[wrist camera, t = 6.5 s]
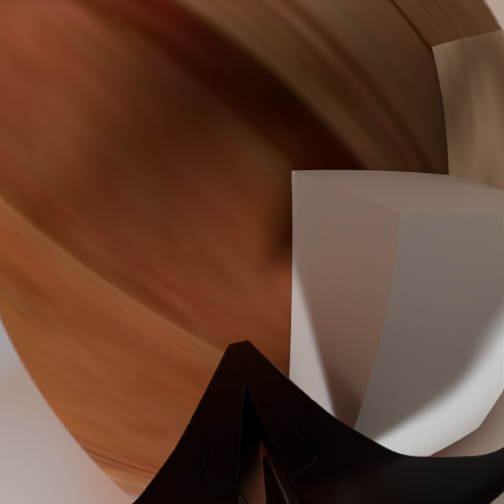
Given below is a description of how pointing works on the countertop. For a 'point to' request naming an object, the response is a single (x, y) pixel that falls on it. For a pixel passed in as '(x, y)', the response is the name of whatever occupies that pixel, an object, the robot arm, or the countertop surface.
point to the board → (474, 105)
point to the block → (398, 302)
